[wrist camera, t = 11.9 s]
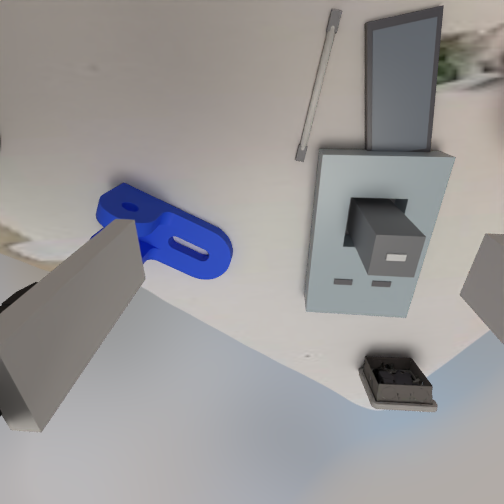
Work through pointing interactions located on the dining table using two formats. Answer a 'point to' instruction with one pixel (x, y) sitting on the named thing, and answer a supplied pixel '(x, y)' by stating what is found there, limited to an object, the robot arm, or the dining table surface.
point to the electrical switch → (396, 385)
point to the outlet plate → (337, 236)
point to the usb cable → (319, 81)
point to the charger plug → (384, 237)
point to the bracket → (167, 232)
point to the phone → (401, 80)
